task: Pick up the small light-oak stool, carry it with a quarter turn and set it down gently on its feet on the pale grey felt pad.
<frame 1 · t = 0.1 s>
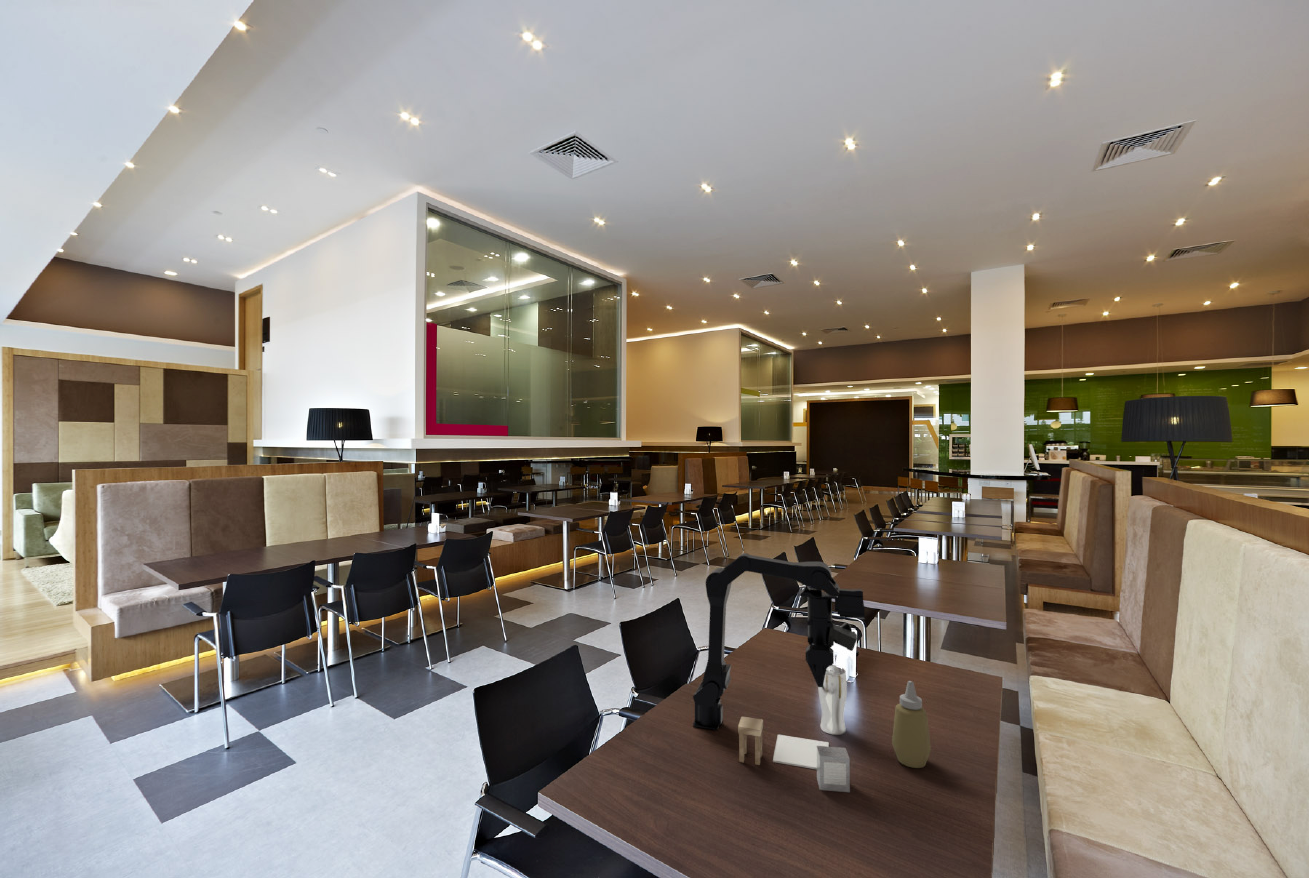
hand: (820, 679, 135), 15 cm above the table, fingers open, 9 cm apart
felt pad: (801, 752, 129), on the table
napkin dispenser: (832, 785, 117), on the table
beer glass: (832, 729, 140), on the table, touching gripper
squeeze bottle: (911, 762, 126), on the table
stool: (750, 758, 127), on the table
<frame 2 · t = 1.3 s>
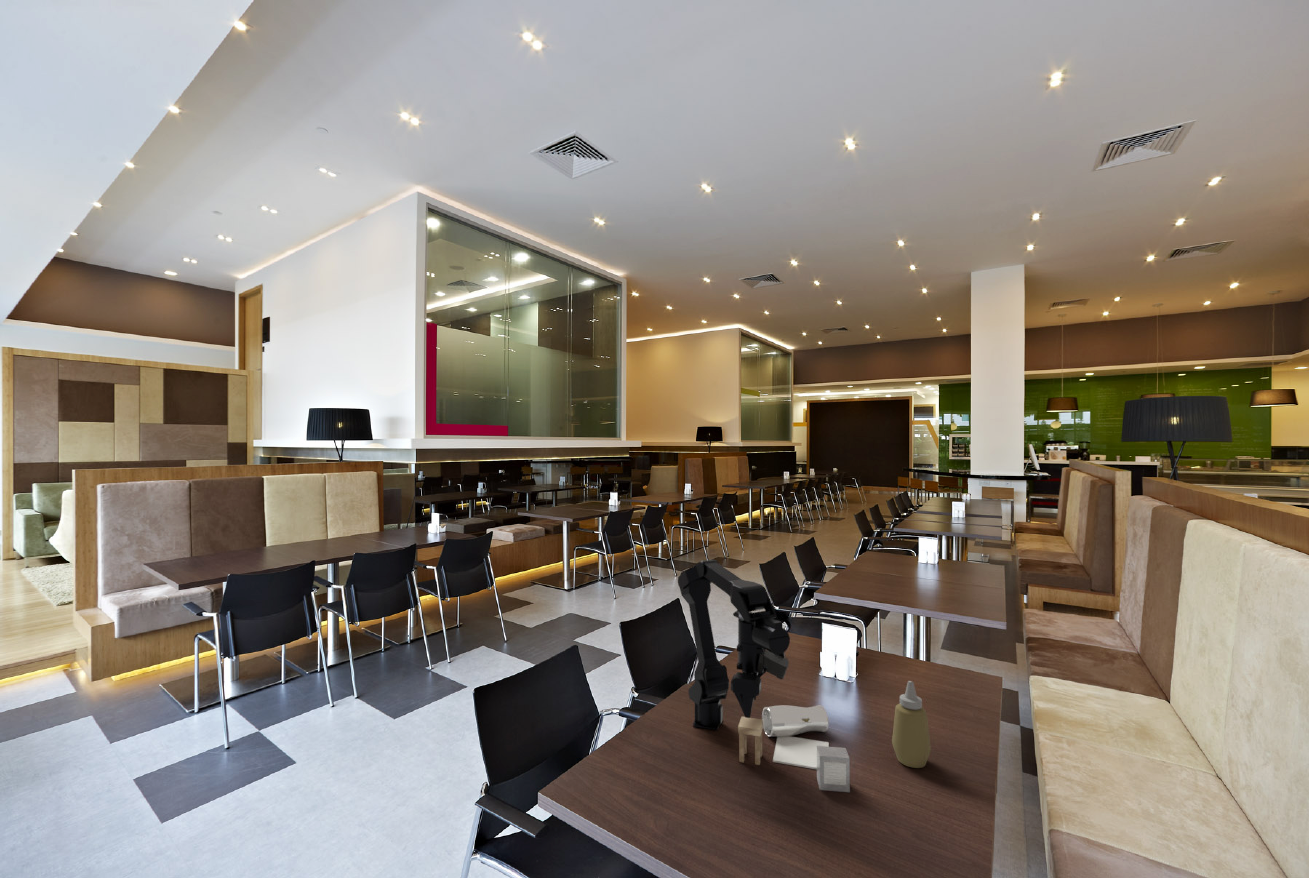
hand: (750, 708, 127), 11 cm above the table, fingers open, 9 cm apart
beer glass: (823, 718, 140), point 3 cm above the table
everything else where it was.
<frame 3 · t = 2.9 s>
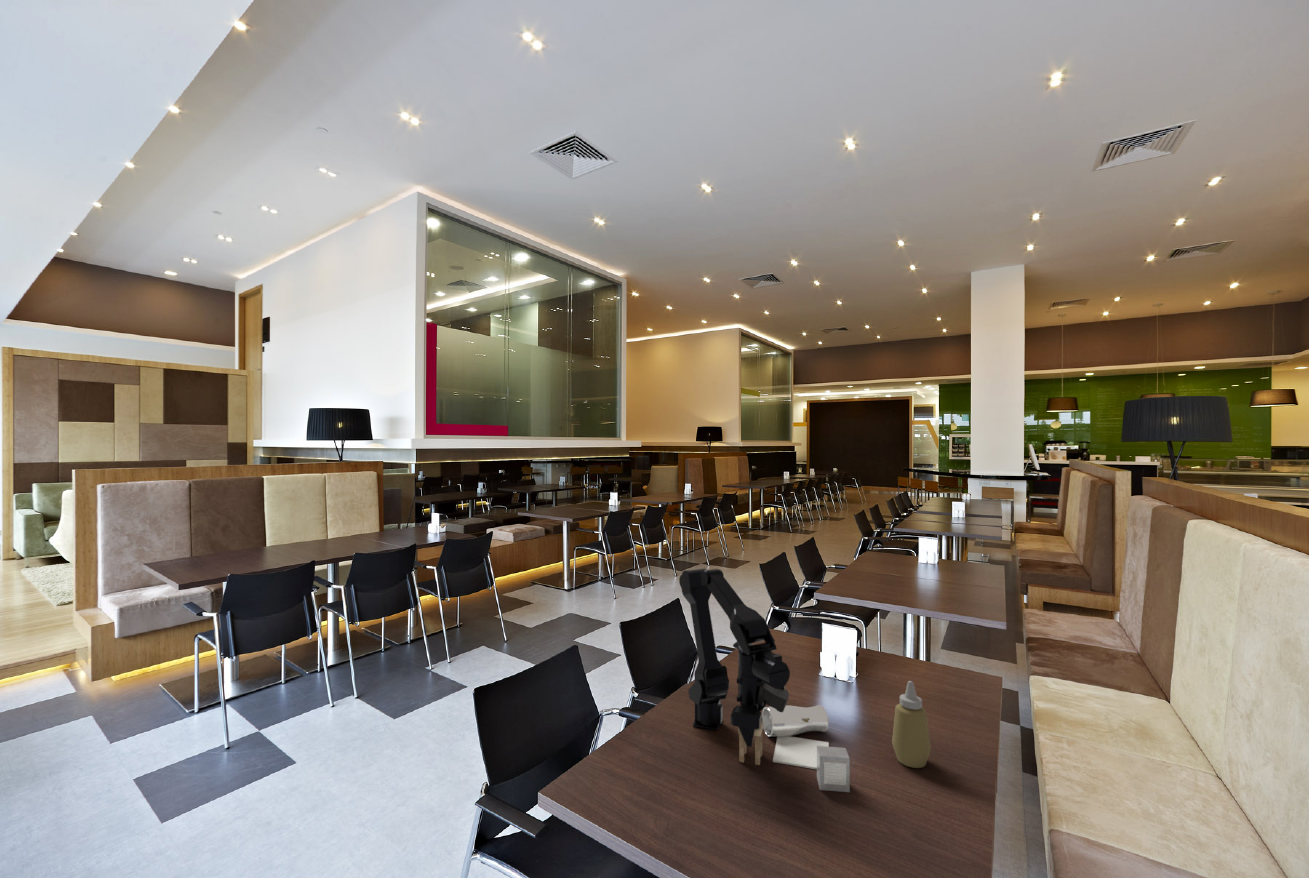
hand: (750, 740, 127), 4 cm above the table, fingers closed on stool, 5 cm apart
stool: (750, 758, 127), on the table, touching gripper
everything else where it was.
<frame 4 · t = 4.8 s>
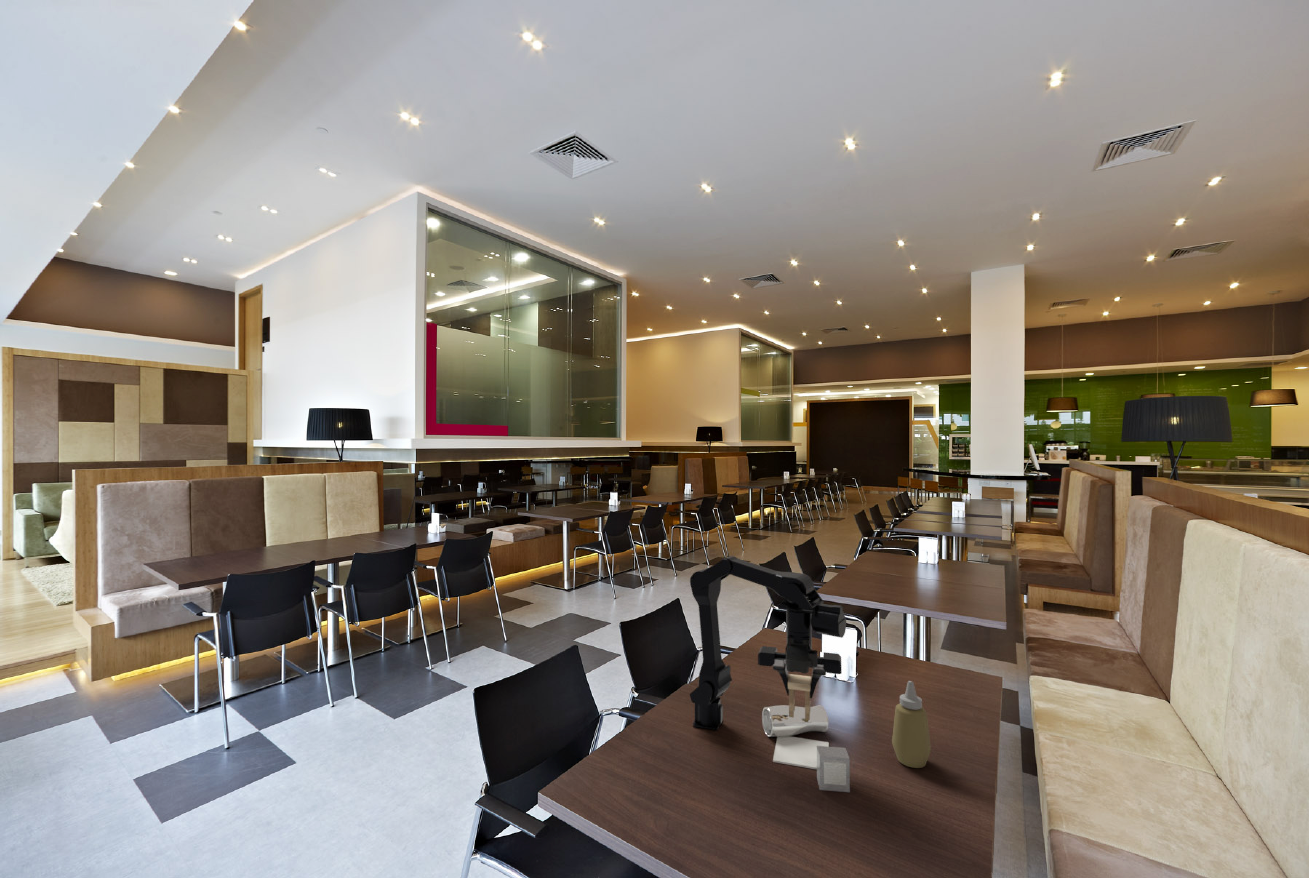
hand: (799, 696, 129), 13 cm above the table, fingers closed on stool, 5 cm apart
stool: (799, 713, 129), point 9 cm above the table, touching gripper
everything else where it was.
when the fingers open (6 cm above the table, at t = 6.9 s): stool drops 2 cm, resting on felt pad.
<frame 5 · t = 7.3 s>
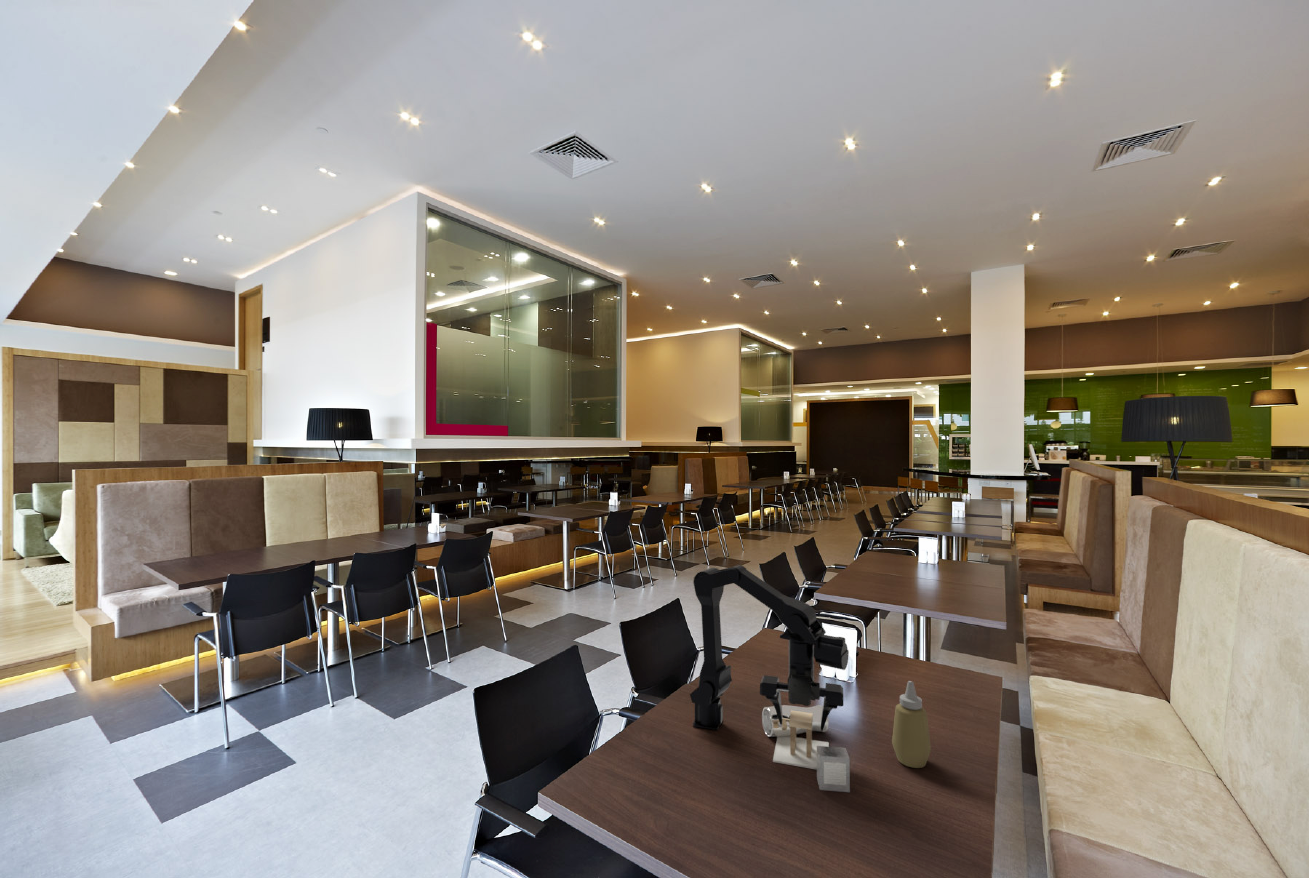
hand: (801, 726, 129), 6 cm above the table, fingers open, 9 cm apart
stool: (801, 751, 129), resting on felt pad
everything else where it was.
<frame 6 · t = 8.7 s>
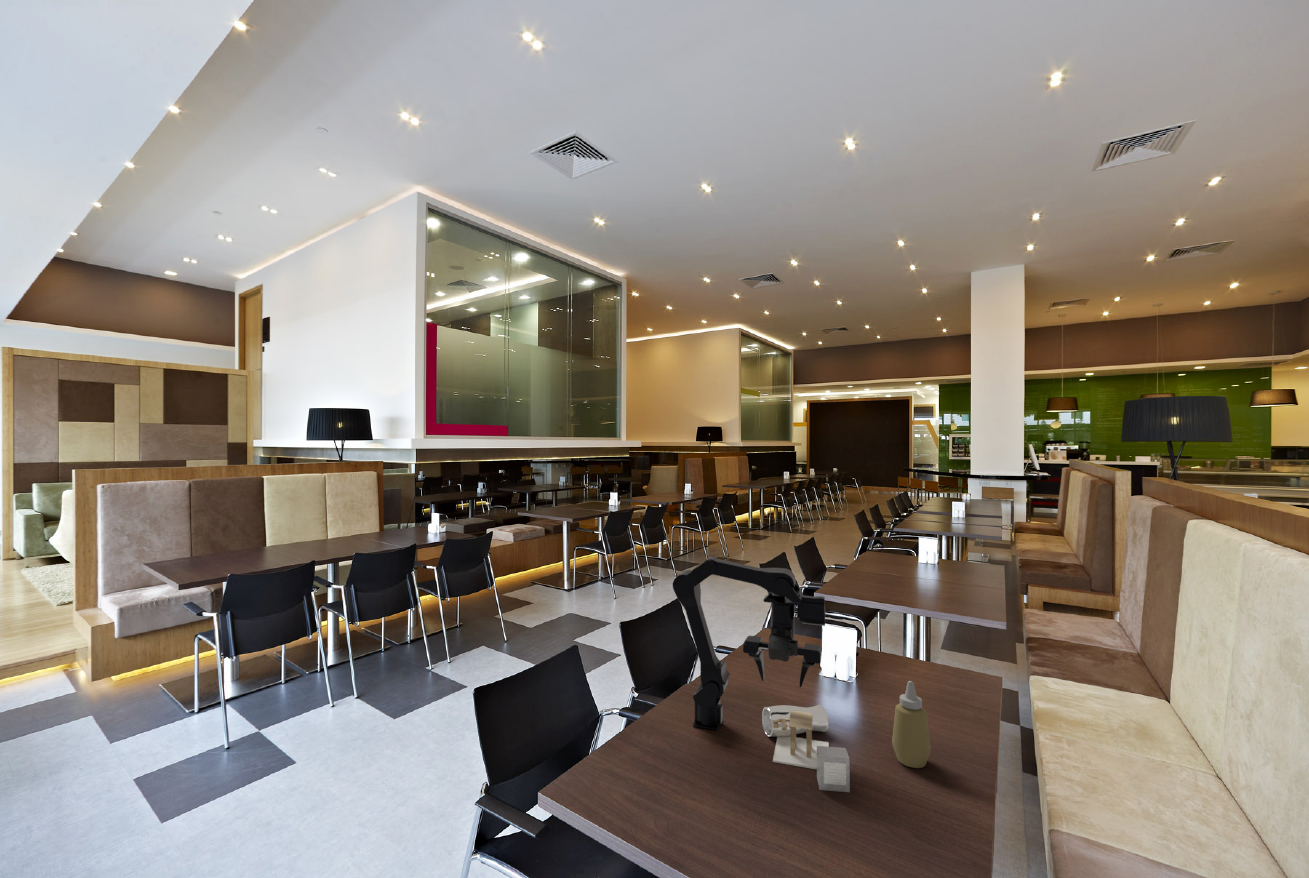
hand: (781, 683, 138), 13 cm above the table, fingers open, 9 cm apart
nothing on the table moved.
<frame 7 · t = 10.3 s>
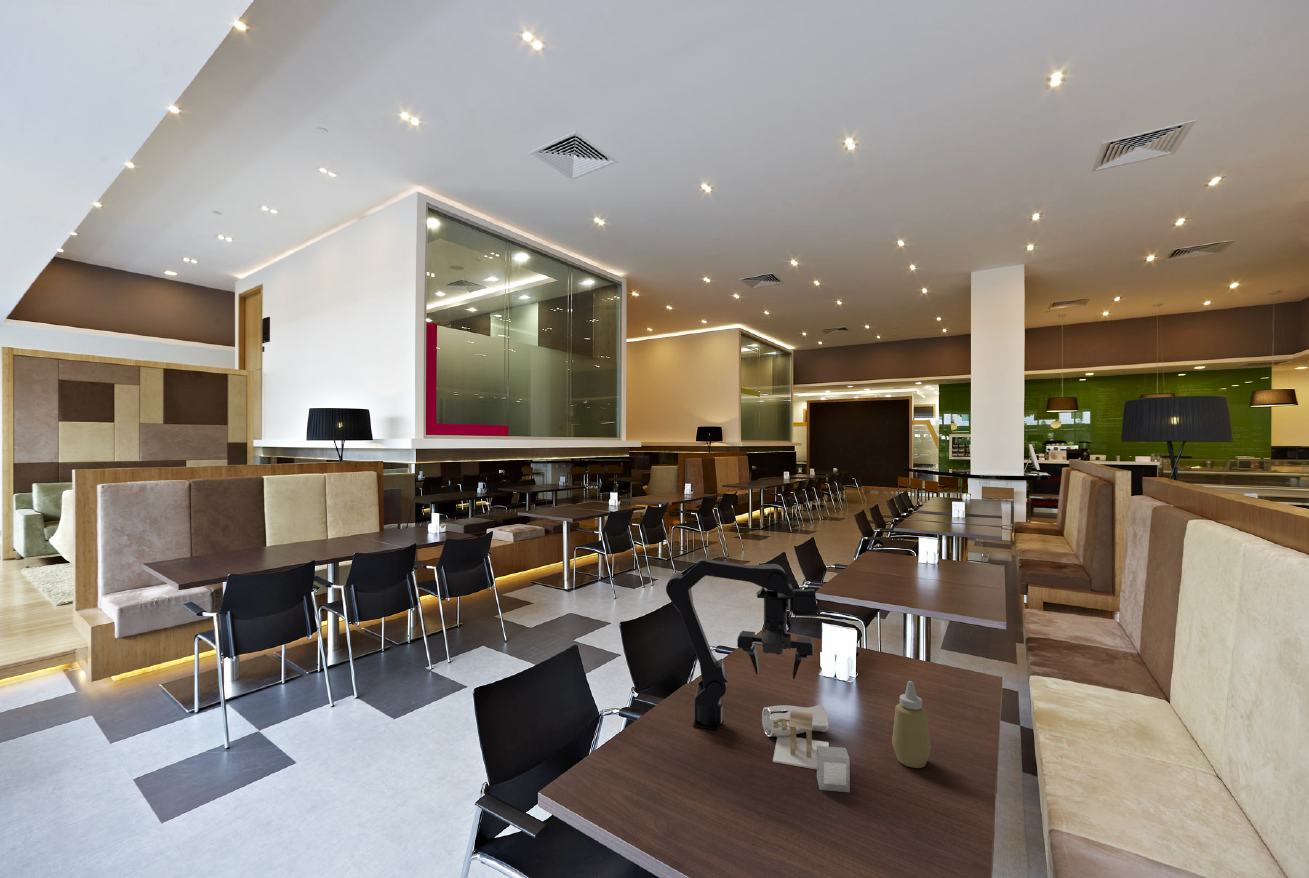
hand: (775, 676, 141), 13 cm above the table, fingers open, 9 cm apart
nothing on the table moved.
at the end: stool inside the target area on the felt pad (0.1 cm from its centre), point 0.4 cm above the felt pad's base; stool tilted 0°; the gripper is holding nothing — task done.
